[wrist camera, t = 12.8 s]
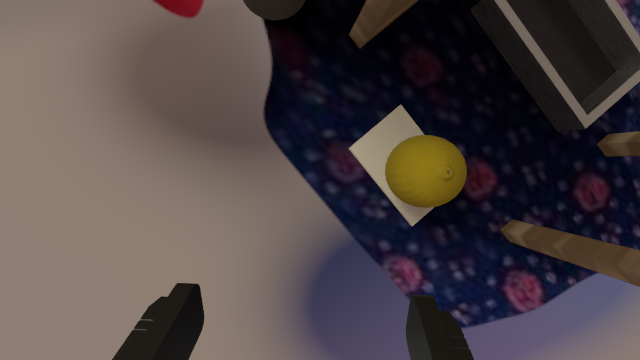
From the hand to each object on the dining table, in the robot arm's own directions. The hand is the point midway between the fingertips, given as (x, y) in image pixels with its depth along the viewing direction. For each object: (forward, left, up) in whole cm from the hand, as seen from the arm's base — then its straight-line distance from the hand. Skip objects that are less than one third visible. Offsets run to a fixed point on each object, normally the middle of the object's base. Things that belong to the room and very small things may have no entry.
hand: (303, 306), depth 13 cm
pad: (+3, +11, -17) cm, 20 cm away
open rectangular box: (+3, +29, -17) cm, 33 cm away
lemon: (+3, +11, -17) cm, 20 cm away
